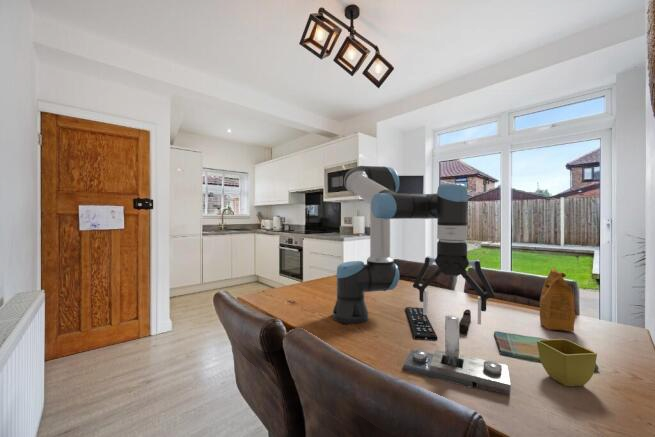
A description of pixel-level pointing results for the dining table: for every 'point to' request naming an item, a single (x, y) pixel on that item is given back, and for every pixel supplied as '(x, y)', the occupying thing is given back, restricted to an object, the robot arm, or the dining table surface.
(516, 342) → the dish towel
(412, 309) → the remote control
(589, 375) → the flower pot
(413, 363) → the lower chain end
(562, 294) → the coffee package
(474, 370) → the grey block with knob
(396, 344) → the dining table surface
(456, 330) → the steel pin
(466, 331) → the hand tool
